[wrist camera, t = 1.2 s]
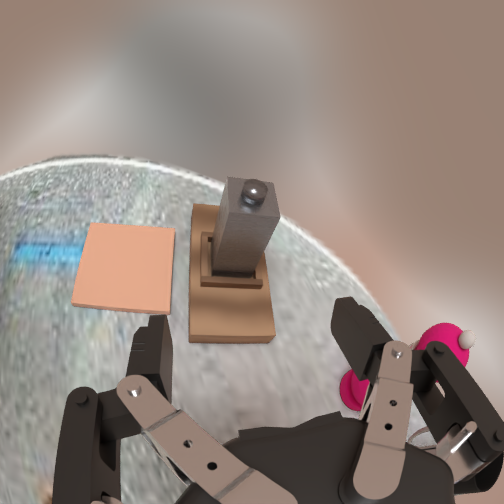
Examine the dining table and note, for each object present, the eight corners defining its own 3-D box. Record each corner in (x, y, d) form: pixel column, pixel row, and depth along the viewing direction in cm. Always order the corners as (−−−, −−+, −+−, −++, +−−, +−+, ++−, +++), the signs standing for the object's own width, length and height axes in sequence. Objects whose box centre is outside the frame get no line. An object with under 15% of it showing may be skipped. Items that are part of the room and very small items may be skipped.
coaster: (169, 314, 35) (169, 311, 34) (73, 305, 32) (71, 302, 31) (174, 232, 42) (175, 228, 41) (92, 226, 39) (91, 222, 38)
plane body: (268, 343, 36) (284, 326, 31) (188, 342, 33) (192, 325, 29) (253, 222, 47) (263, 196, 43) (191, 216, 45) (195, 188, 40)
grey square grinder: (249, 280, 37) (284, 208, 27) (210, 277, 36) (231, 202, 26) (246, 248, 40) (276, 174, 30) (210, 245, 39) (229, 167, 29)
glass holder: (406, 506, 24) (487, 506, 12) (353, 460, 28) (439, 455, 17) (434, 462, 29) (511, 448, 17) (388, 414, 33) (469, 388, 21)
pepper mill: (374, 418, 33) (495, 378, 17) (331, 409, 32) (452, 366, 17) (381, 372, 37) (488, 312, 21) (340, 359, 37) (447, 290, 21)
